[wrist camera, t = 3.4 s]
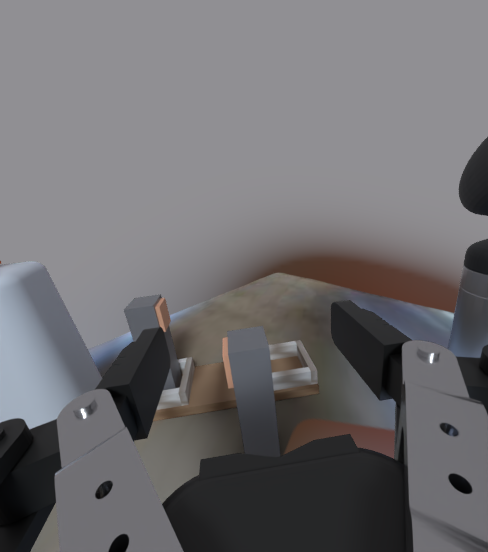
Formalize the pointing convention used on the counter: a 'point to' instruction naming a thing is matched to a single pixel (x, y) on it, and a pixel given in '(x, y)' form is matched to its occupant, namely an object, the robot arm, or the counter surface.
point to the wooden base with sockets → (216, 396)
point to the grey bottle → (38, 348)
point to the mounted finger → (154, 315)
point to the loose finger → (252, 389)
